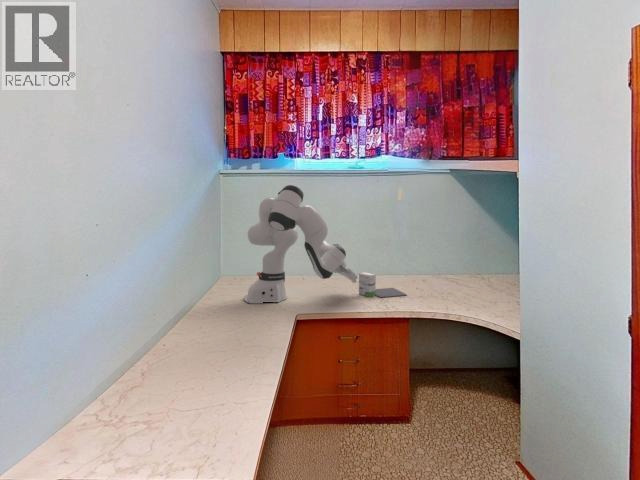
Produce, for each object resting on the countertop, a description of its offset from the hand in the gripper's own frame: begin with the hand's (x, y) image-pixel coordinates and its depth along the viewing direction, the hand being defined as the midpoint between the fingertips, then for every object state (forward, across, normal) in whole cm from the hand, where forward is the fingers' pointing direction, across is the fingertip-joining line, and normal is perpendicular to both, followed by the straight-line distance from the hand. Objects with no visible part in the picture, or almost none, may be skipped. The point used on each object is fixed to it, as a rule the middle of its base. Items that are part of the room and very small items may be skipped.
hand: (354, 281), depth 236 cm
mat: (+19, 0, -8) cm, 21 cm away
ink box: (+11, 0, 0) cm, 11 cm away
